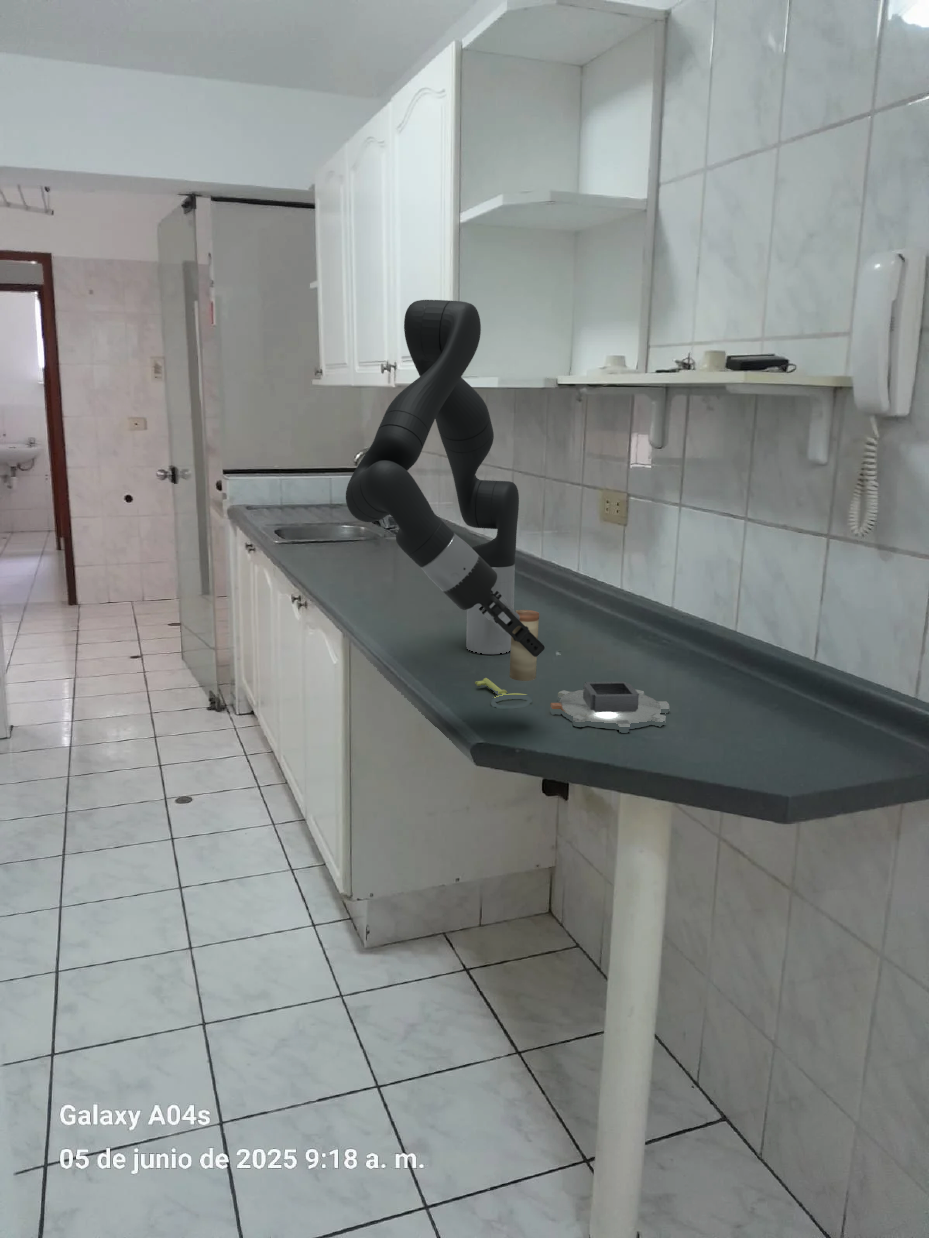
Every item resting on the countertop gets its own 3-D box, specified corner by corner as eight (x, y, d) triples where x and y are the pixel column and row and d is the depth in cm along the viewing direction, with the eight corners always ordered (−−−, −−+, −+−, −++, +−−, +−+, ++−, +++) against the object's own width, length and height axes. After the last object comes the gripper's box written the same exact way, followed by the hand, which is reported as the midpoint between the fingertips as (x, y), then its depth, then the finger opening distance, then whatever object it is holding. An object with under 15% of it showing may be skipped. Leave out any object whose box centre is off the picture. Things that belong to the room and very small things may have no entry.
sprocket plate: (541, 694, 160) (541, 672, 159) (651, 693, 162) (652, 671, 161) (562, 734, 142) (563, 708, 141) (685, 732, 143) (687, 707, 143)
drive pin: (507, 672, 146) (510, 609, 144) (534, 672, 146) (537, 610, 144) (510, 680, 142) (513, 616, 140) (538, 681, 142) (541, 616, 140)
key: (485, 688, 165) (485, 676, 164) (538, 705, 156) (538, 693, 156) (455, 697, 160) (455, 685, 160) (508, 715, 151) (508, 702, 151)
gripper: (485, 561, 131) (567, 643, 136) (468, 544, 145) (542, 619, 150) (447, 600, 132) (530, 679, 137) (433, 579, 145) (508, 652, 150)
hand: (536, 647), depth 143 cm, fingers closed on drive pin, 4 cm apart
